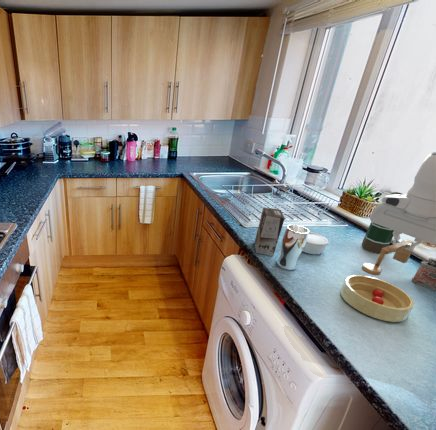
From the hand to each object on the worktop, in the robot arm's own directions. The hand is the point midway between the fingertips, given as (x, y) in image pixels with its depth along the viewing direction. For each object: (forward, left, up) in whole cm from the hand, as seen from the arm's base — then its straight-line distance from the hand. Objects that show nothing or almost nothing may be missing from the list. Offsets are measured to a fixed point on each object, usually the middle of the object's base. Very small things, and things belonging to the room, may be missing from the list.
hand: (402, 247), depth 88 cm
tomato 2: (-5, +13, -13) cm, 19 cm away
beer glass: (+20, +19, -15) cm, 32 cm away
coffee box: (+32, +18, -15) cm, 39 cm away
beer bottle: (+15, -25, -15) cm, 33 cm away
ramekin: (+25, 0, -15) cm, 29 cm away
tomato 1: (-3, +9, -13) cm, 16 cm away
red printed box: (-6, -15, -15) cm, 22 cm away
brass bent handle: (0, +6, -5) cm, 8 cm away
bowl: (-4, +13, -15) cm, 20 cm away
